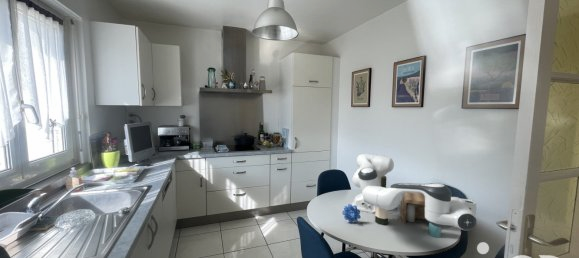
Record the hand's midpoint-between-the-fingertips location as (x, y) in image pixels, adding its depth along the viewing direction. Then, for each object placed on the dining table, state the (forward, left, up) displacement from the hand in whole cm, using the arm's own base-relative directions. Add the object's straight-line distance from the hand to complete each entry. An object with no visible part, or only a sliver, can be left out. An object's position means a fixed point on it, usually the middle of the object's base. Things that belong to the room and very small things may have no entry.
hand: (444, 197), depth 122 cm
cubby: (-5, +23, -26) cm, 36 cm away
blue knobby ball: (-47, +8, -26) cm, 54 cm away
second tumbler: (-11, +26, -26) cm, 39 cm away
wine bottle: (-29, +16, -26) cm, 42 cm away
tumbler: (-1, +10, -26) cm, 28 cm away
